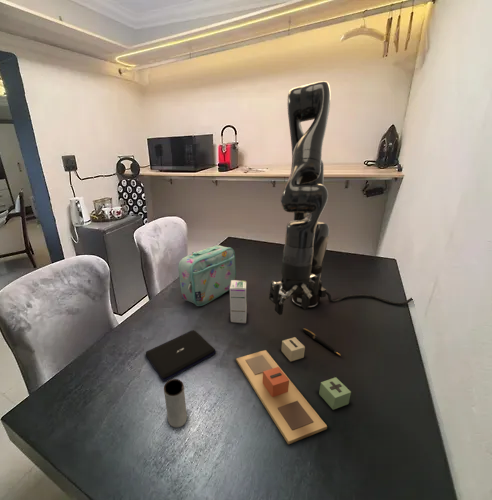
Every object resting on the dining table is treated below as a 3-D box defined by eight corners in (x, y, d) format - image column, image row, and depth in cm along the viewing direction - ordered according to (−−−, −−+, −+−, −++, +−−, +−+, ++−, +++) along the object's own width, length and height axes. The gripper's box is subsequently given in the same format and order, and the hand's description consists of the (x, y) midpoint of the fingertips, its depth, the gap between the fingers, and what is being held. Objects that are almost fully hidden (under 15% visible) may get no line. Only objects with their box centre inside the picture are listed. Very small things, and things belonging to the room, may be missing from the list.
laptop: (143, 348, 86) (142, 343, 85) (198, 330, 93) (198, 325, 92) (157, 385, 72) (156, 380, 71) (220, 360, 79) (220, 355, 78)
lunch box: (194, 313, 102) (191, 263, 94) (178, 303, 109) (173, 256, 101) (238, 287, 118) (238, 243, 110) (221, 280, 125) (220, 238, 117)
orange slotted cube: (277, 377, 71) (278, 366, 69) (288, 391, 67) (289, 379, 65) (262, 382, 70) (263, 370, 68) (272, 397, 65) (273, 384, 64)
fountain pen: (342, 356, 77) (343, 352, 77) (340, 358, 77) (340, 354, 76) (303, 329, 89) (303, 326, 89) (300, 330, 89) (301, 327, 88)
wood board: (265, 352, 81) (265, 349, 80) (326, 429, 58) (327, 425, 58) (235, 360, 78) (235, 357, 78) (288, 444, 56) (288, 441, 56)
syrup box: (246, 323, 94) (247, 288, 89) (229, 322, 95) (229, 287, 90) (246, 314, 99) (247, 280, 94) (230, 313, 101) (230, 279, 95)
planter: (167, 410, 65) (163, 379, 61) (186, 408, 65) (183, 377, 61) (168, 429, 61) (163, 397, 57) (187, 426, 61) (184, 394, 57)
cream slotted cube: (293, 347, 82) (295, 336, 80) (303, 357, 78) (305, 346, 76) (281, 351, 81) (282, 340, 79) (290, 361, 77) (291, 350, 75)
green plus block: (333, 388, 68) (336, 376, 66) (348, 404, 64) (351, 391, 62) (318, 393, 67) (320, 381, 65) (332, 410, 62) (335, 397, 61)
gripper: (282, 269, 66) (277, 323, 71) (329, 260, 69) (321, 312, 75) (266, 258, 72) (263, 308, 78) (310, 251, 76) (304, 299, 82)
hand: (291, 310), depth 77 cm, fingers open, 8 cm apart
